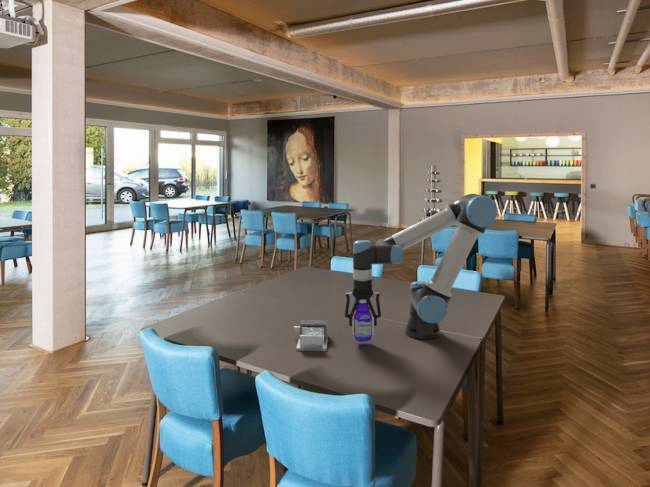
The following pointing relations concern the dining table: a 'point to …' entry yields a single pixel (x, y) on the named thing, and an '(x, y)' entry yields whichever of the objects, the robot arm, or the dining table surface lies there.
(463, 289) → the dining table surface
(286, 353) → the dining table surface
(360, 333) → the bottle
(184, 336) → the dining table surface
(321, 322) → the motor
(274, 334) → the dining table surface
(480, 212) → the robot arm
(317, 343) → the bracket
